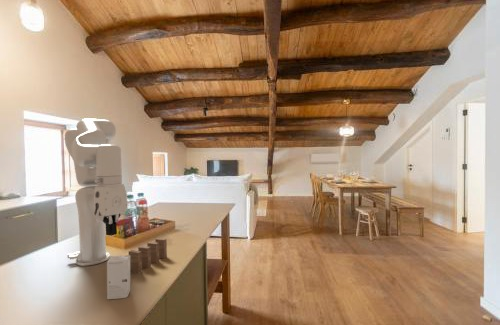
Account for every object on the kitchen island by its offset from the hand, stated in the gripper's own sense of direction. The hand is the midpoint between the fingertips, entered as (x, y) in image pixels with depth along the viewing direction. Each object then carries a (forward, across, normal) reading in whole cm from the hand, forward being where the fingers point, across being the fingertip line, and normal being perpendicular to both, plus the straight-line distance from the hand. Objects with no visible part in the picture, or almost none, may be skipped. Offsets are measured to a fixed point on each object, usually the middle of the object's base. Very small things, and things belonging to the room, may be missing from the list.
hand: (111, 234), depth 88 cm
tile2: (+18, +16, 0) cm, 24 cm away
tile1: (+18, +11, 0) cm, 21 cm away
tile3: (+18, +21, 0) cm, 27 cm away
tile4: (+18, +26, 0) cm, 31 cm away
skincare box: (+18, -4, -7) cm, 20 cm away
